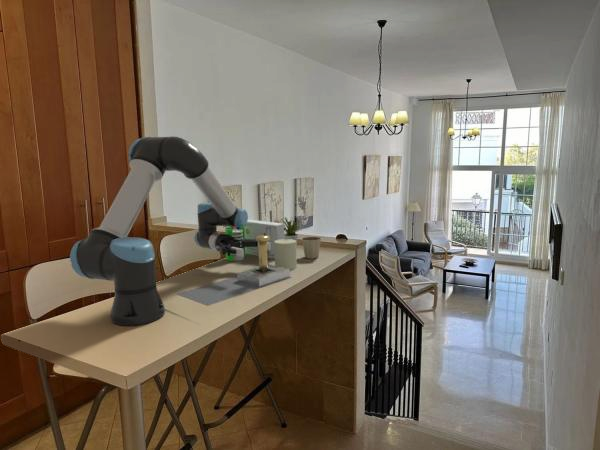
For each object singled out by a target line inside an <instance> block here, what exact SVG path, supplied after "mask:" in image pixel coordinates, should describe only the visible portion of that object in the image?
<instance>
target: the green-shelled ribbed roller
mask: <svg viewBox="0 0 600 450" xmlns="http://www.w3.org/2000/svg"><path fill="white" fill-rule="evenodd" d="M224 234H229V235H231V236H233V238H234V239H242V238H243V239H245V227H229V226H226V227H225V228H224ZM240 246H242V245H241V244H240ZM240 249H244V256H243V257H241V256H237V255H233V254H231V253H230V255H231V256H227V253H226V254H225V258H226V259H225V260H227V261H229V262H234V261H241V260H244V259H245V258H246V253H245V247H244V248H240Z"/></svg>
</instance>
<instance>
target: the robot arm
mask: <svg viewBox="0 0 600 450" xmlns="http://www.w3.org/2000/svg"><path fill="white" fill-rule="evenodd" d="M127 153H128V155H129V156H128V162H129V163H128V166H129V168H130V171H129V172H128V175H127V176H126V178H125V180H124V182H123V184H122V185H121V188H120V189H119V191H118V193H117V195H116V196H115V199H114V200H113V202H112V204H111V206H110V208H109V209H108V211H107V213H106V215H105V216H104V217H103V219H102V222H101V223H100V225H99V227H96V228H93V229H91V230H90V233H89V235H88V236H87V237H86V238H83V239H81V240H78V241H76V242H75V243H74V244H73V246H72V248H71V250H70V254H69V262H70V263H71V268H72V269H73V271H74V272H75V273H76V274H77V275H78V276H80V277H83V278H87V279H90V280H102V281H103V280H104V281H110V282H111V281H112V282H113V284H114V297H113V302H112V306H111V311H110V321H111V322H112V323H113V324H115V325H118V326H124V327H125V326H127V327H128V326H129V327H132V326H139V325H140V326H141V325H145V324H148V323H149V324H150V323H152V322H155V321H157V320H159V319H161V318H162V317H163V316H164V315H165V311H166V310H165V304H164V302H163V300H162V298H161V296H160V293H159V291H158V288H157V274H156V273H157V272H156V259H155V256H156V255H155V252H154V246H153V244H152V242H151V241H150V240H148V239H146V238H142V237H137V236H136V237H135V236H133V237H130V236H129V233H130V231H131V230H132V227H133V225H134V223H135V222H136V220H137V218H138V215H139V214H140V212H141V210H142V209H143V208H142V207H143V206H144V204H145V202H146V200H147V198H148V196H149V195H150V193H151V190H152V188H153V186H154V184H155V182H159V181H161V180H162V179H163V176H164V174H165V173H166V172H167V171H168V172H169V171H170V172H173V171H175V172H180V173H181V174H183V175H184V176H185V178H187V179H190V180H191V181H192V182H193V183H194V184H195V186H196V187H197V189H198V190H199V191H200V192H201V194H203V196H204V197H205V199H206V200H207V201H208V202H201V203H198V204H197V213H196V214H197V223H198V224H197V225H198V230H197V231H196V232H195V235H194V238H193V239H194V243H195V244H196V246H199V247H201V248H203V249H208V250H212V251H213V250H214V251H217V252H218V253H219V252H220V254H221V255H222V256H226V253H227V256H231V255H230V253H231V254H233V255H237V256H241V257H243V256H244V249H240V248H244V247H258V248H259V246H258V241H256V239H243V238H242V239H234V238H233V236H231V235H229V234H225V232H218V231H217V228H218V227H244V226H245V225H246V223H247V221H248V220H249V219H248V218H249V214H248V212H247V210H246V209H244V208H238V207H237V206H236V204H235V203H234V202H233V200H232V199H231V197H230V195H229V194H228V192H226V190H225V188H224V187H223V186H222V184H221V183H220V181H219V180H218V179H217V177H216V175H215V174H214V173H213V172H212V170H211V168H209V166H210V165H209V161H208V160H207V158H206V156H205V155H204V154H203V153H202V152H201V151H200V150H199V148H197V146H195V145H194V144H192V142H190V141H188V140H186V139H185V138H182V137H178V136H154V137H151V136H147V137H146V136H145V137H141V138H138V139H136V140H134V142H132V143H131V145H130V146H129V150H128V152H127ZM240 244H241V245H242V246H240ZM267 250H271V249H270V243H268V242H267Z"/></svg>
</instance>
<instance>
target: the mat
mask: <svg viewBox="0 0 600 450" xmlns="http://www.w3.org/2000/svg"><path fill="white" fill-rule="evenodd" d="M291 278H293V277H292V276H290V277H288V278H285V279H282V280H279V281H276V282H273V283H270V284H267V285H264V286H261V287H257V286H254V285H250V284H247V283H243V282H240V281H238V280H237V275H235V276H233V277H230V278H226V279H222V280H219V281H216V282H212V283H210V284H209V283H208V284H206V285H201V286H198V287H195V288H191V289H188V290H184V291H182V292H179V293H176V295H178V296H180V297H183V298H185V299H189V300H190V301H193V302H196V303H200V304H202V305H205V306H212V305H215V304H217V303H220V302H223V301H227V300H229V299H232V298H235V297H238V296H241V295H244V294H246V293H247V294H248V293H251V292H253V291H256V290H259V289H262V288H265V287H268V286H271V285H275V284H277V283H280V282H282V281H286V280H288V279H291Z"/></svg>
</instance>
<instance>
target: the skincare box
mask: <svg viewBox="0 0 600 450" xmlns="http://www.w3.org/2000/svg"><path fill="white" fill-rule="evenodd" d="M282 223H283V222H282ZM282 223H281V222H280V223H279V222H273V221H272V222H271V221H264V220H256V219H248V221H247V223H246V225H245V226H244V227H245V239H255V237H256V236H261V235H267V236H269V237H270V240H268V241H267V242H268V243H270V249H271V250H267V256H268V259H273V260H275V247H274V241H275V240H279V239H285V238H284V234H285V231H284V225H285V224H284V223H283V224H282ZM245 255H251V256H257V257H259V248H258V247H245Z"/></svg>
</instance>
